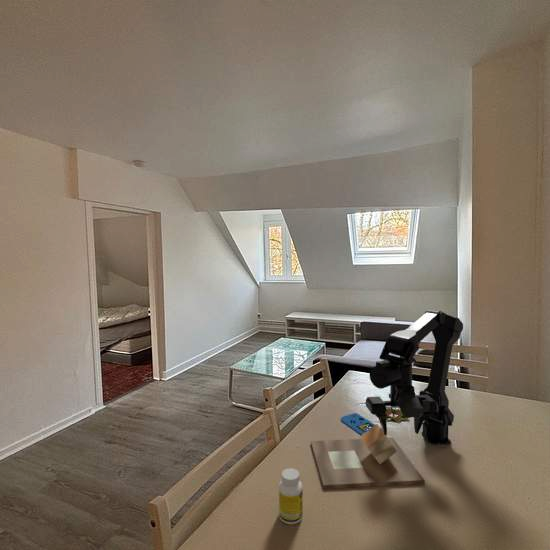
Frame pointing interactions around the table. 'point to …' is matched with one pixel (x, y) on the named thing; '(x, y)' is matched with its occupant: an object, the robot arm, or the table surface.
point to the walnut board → (361, 465)
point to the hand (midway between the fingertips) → (400, 433)
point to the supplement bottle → (290, 497)
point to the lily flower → (395, 412)
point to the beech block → (378, 444)
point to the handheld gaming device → (357, 423)
